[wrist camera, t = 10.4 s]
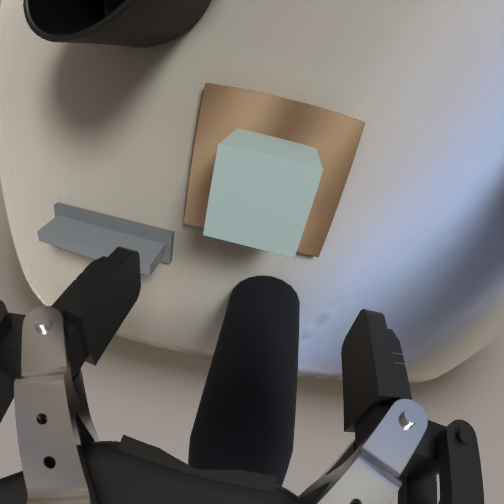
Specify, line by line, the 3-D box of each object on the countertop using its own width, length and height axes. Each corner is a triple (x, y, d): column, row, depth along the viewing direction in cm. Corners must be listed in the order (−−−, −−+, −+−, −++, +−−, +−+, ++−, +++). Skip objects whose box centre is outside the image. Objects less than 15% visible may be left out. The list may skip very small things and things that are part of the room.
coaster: (362, 121, 19) (365, 122, 18) (317, 252, 25) (318, 257, 24) (208, 83, 19) (205, 83, 18) (186, 219, 25) (183, 223, 24)
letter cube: (316, 148, 20) (323, 170, 15) (294, 221, 23) (293, 261, 18) (237, 128, 20) (218, 143, 15) (222, 202, 23) (202, 238, 18)
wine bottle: (235, 268, 27) (124, 654, 1) (307, 283, 26) (273, 675, 1) (226, 319, 30) (143, 628, 5) (290, 332, 30) (249, 646, 4)
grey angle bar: (174, 231, 25) (156, 256, 22) (171, 260, 27) (155, 287, 24) (57, 202, 25) (32, 220, 22) (60, 228, 27) (37, 248, 24)
